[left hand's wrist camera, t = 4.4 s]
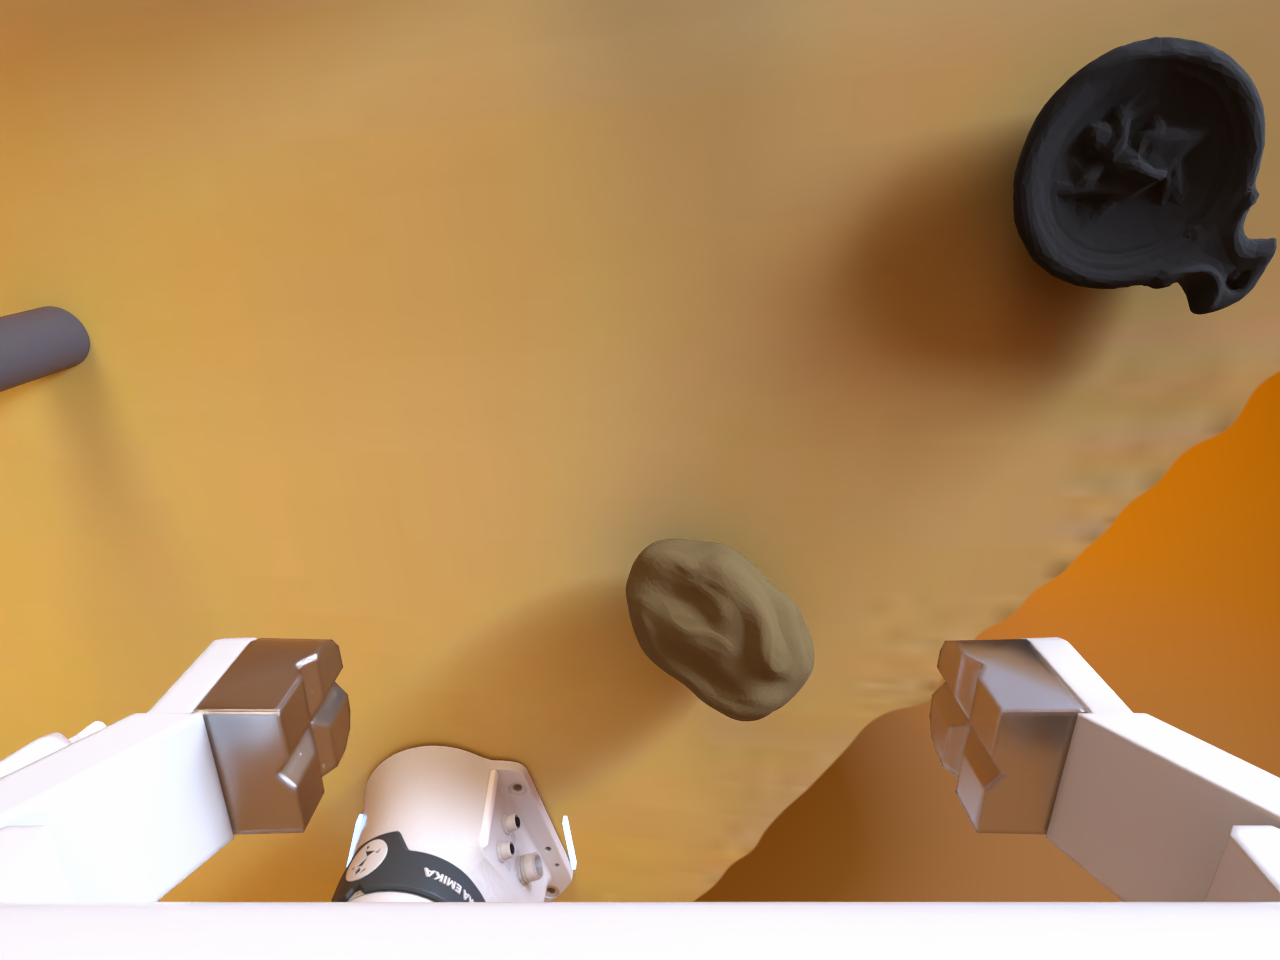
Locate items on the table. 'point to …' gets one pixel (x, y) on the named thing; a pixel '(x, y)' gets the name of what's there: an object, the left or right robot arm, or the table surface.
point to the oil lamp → (1147, 174)
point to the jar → (39, 345)
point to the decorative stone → (719, 627)
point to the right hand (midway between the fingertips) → (68, 762)
